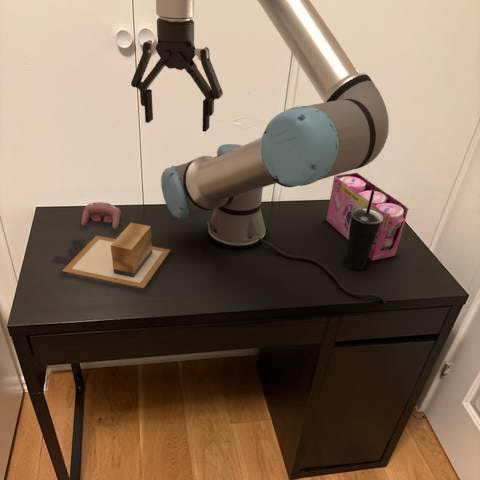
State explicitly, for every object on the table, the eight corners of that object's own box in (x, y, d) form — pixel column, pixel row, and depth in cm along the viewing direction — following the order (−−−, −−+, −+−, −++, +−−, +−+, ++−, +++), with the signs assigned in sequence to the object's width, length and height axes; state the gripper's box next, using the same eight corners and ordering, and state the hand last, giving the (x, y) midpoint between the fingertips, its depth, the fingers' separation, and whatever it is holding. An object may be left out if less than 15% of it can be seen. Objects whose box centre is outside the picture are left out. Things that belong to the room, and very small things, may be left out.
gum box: (399, 258, 132) (414, 211, 123) (374, 264, 129) (387, 216, 120) (347, 216, 148) (357, 171, 139) (324, 220, 145) (333, 175, 137)
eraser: (152, 253, 124) (150, 226, 119) (134, 277, 116) (131, 249, 111) (133, 249, 125) (131, 222, 120) (113, 273, 117) (110, 245, 112)
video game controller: (121, 230, 137) (122, 204, 135) (116, 231, 132) (117, 204, 131) (85, 227, 137) (86, 200, 136) (79, 227, 133) (80, 200, 131)
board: (170, 253, 127) (170, 249, 126) (144, 292, 114) (143, 287, 113) (96, 239, 130) (96, 235, 129) (62, 275, 117) (61, 270, 116)
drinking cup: (372, 260, 130) (391, 187, 117) (368, 276, 124) (388, 201, 112) (342, 253, 132) (358, 181, 119) (337, 268, 126) (353, 194, 113)
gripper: (240, 22, 103) (234, 127, 116) (125, 8, 107) (132, 112, 120) (230, 28, 97) (225, 138, 111) (109, 13, 101) (119, 122, 115)
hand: (177, 125), depth 115 cm, fingers open, 13 cm apart
